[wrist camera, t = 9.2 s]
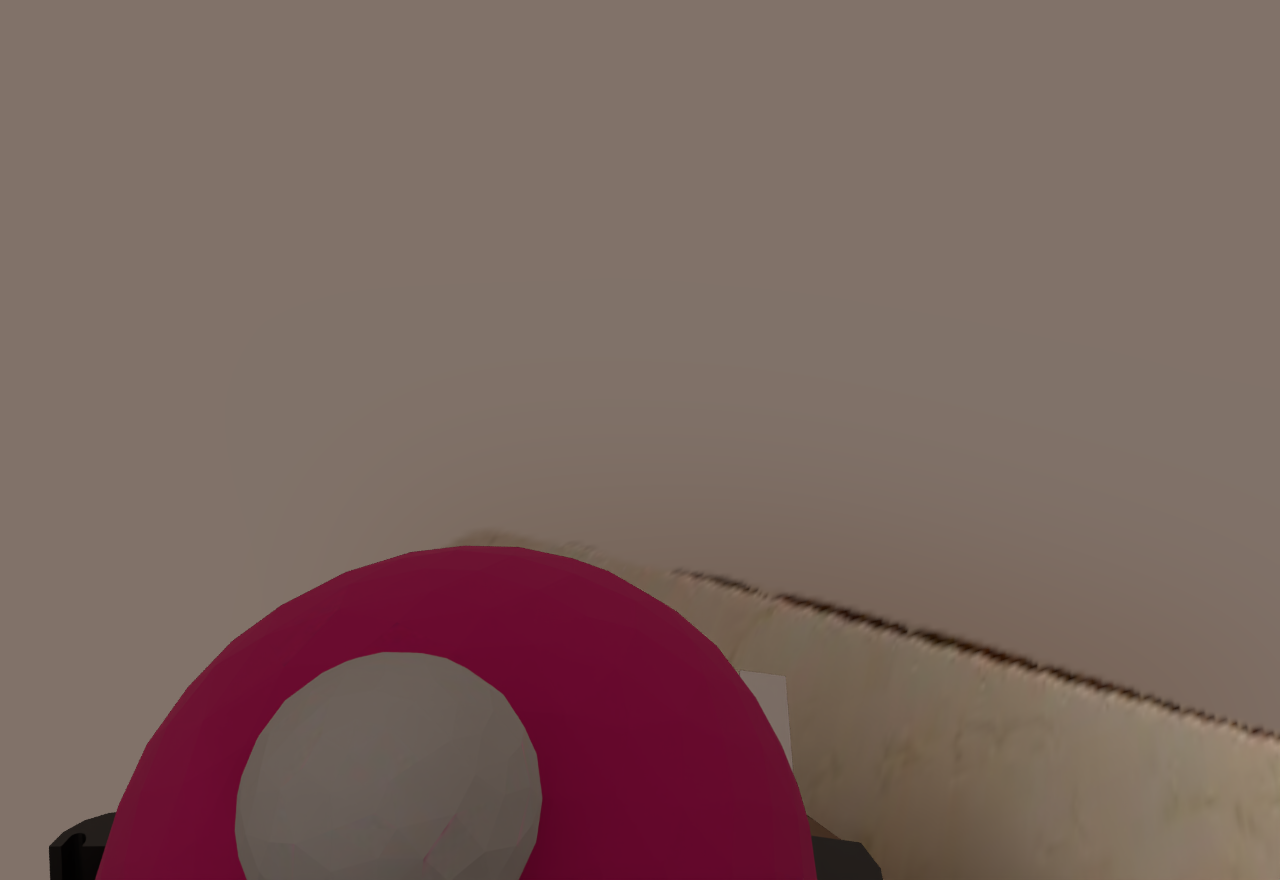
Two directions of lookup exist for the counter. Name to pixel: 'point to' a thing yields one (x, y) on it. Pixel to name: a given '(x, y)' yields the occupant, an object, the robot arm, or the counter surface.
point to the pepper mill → (465, 739)
